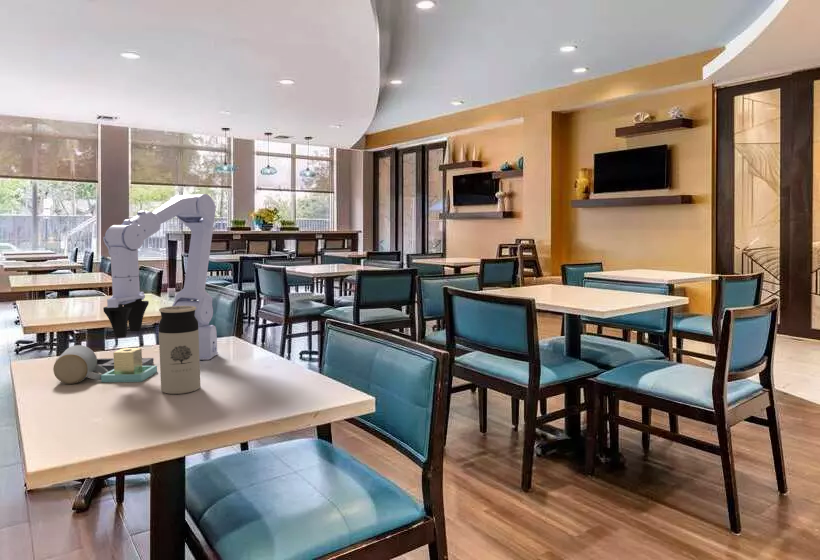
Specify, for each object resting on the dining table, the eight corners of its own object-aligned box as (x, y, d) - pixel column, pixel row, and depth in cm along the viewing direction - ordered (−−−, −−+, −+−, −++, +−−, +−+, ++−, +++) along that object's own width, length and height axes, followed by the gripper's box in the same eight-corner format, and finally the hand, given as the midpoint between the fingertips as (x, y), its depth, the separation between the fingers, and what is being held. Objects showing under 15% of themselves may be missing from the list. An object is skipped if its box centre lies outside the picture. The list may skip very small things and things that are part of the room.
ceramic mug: (51, 386, 129) (50, 352, 128) (62, 377, 137) (60, 345, 136) (104, 383, 132) (103, 350, 132) (111, 374, 140) (110, 343, 139)
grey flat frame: (153, 363, 151) (153, 357, 150) (140, 371, 143) (140, 365, 142) (83, 364, 150) (82, 358, 150) (65, 371, 142) (65, 365, 142)
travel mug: (165, 386, 129) (162, 306, 128) (202, 383, 131) (200, 304, 129) (157, 396, 122) (153, 311, 120) (197, 393, 123) (194, 309, 122)
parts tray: (157, 372, 142) (156, 365, 142) (141, 381, 133) (141, 374, 133) (119, 372, 141) (119, 366, 141) (101, 382, 133) (101, 375, 132)
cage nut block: (123, 373, 139) (122, 348, 139) (142, 372, 139) (141, 347, 139) (114, 377, 135) (113, 352, 134) (134, 377, 135) (133, 351, 134)
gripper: (128, 279, 128) (131, 339, 129) (155, 273, 142) (157, 328, 144) (96, 279, 128) (99, 340, 129) (126, 274, 142) (129, 328, 143)
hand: (128, 334), depth 136 cm, fingers open, 7 cm apart
